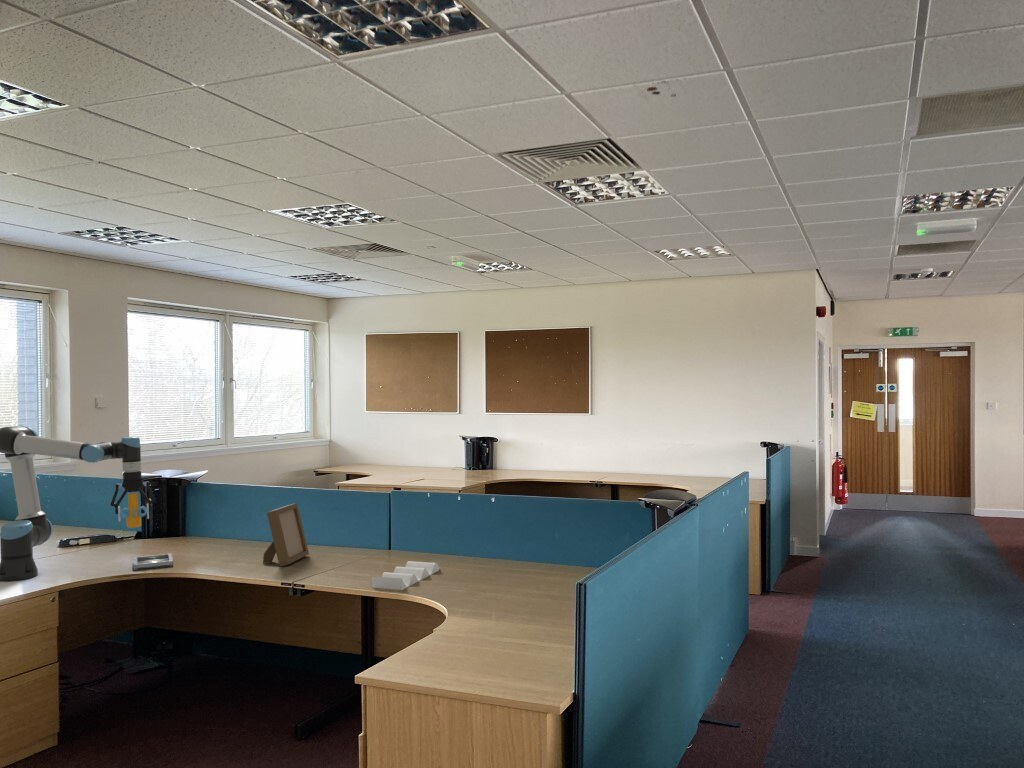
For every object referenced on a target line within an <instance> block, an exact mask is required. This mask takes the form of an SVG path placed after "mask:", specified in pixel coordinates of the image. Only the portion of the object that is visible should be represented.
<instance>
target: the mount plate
mask: <svg viewBox="0 0 1024 768" xmlns="http://www.w3.org/2000/svg"><path fill="white" fill-rule="evenodd" d="M170 567H173V568H174V558H173V553H164V554H163V553H161V554H152V555H143V556H133V571H144V570H152V569H162V568H170Z"/></svg>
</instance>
